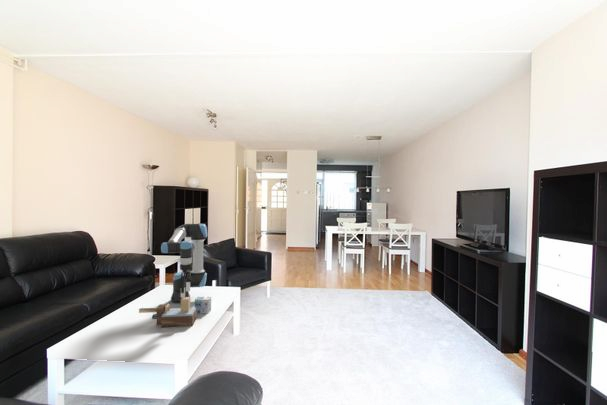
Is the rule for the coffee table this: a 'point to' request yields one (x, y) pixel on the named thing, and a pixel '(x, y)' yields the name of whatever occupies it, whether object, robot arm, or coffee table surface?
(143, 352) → the coffee table surface
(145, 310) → the key
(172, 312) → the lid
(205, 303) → the light bulb box
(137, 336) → the coffee table surface
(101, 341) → the coffee table surface
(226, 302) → the coffee table surface
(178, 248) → the robot arm
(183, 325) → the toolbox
